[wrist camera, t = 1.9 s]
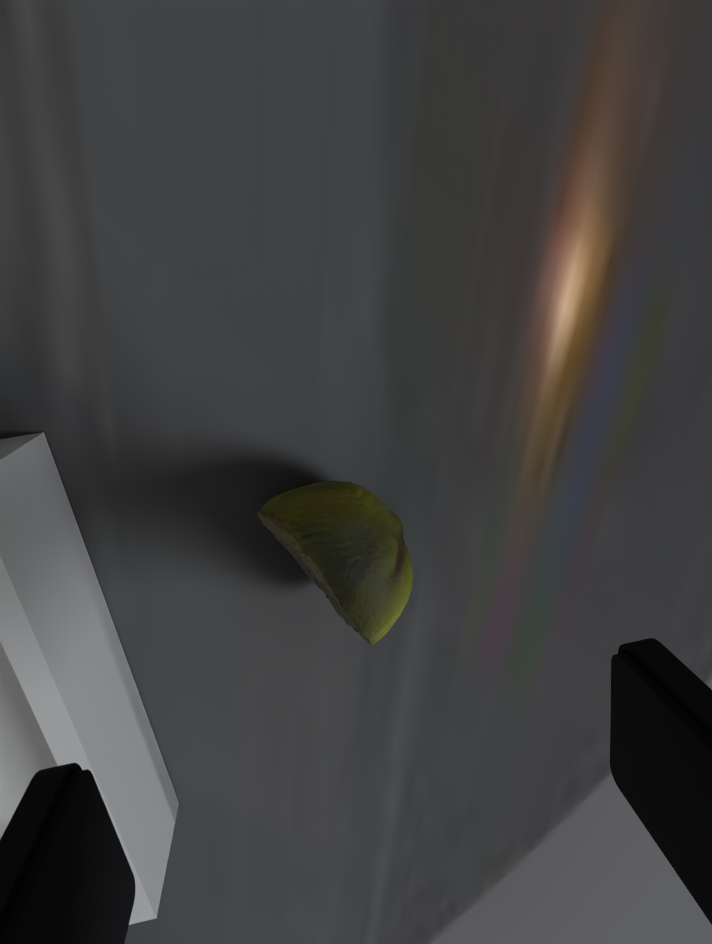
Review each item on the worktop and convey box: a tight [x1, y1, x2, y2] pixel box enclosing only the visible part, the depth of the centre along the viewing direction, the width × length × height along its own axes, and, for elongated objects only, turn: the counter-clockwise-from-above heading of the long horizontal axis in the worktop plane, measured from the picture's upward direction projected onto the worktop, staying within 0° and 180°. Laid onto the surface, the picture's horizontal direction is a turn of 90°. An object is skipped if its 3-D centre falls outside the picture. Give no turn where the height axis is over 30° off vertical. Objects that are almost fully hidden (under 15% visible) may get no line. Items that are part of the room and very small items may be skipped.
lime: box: [257, 481, 413, 644], centre depth 15 cm, size 4×5×5 cm
